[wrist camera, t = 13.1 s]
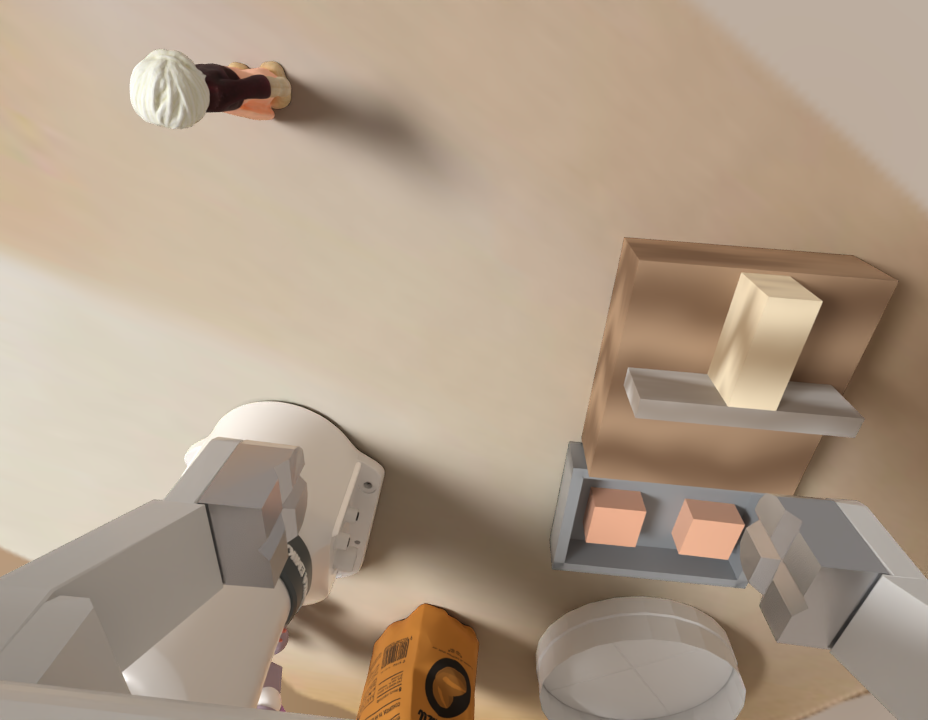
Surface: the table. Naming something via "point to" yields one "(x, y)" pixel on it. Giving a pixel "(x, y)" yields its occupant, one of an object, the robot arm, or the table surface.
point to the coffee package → (422, 670)
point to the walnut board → (692, 349)
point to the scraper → (751, 370)
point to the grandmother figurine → (204, 89)
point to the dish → (638, 663)
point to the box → (642, 530)
